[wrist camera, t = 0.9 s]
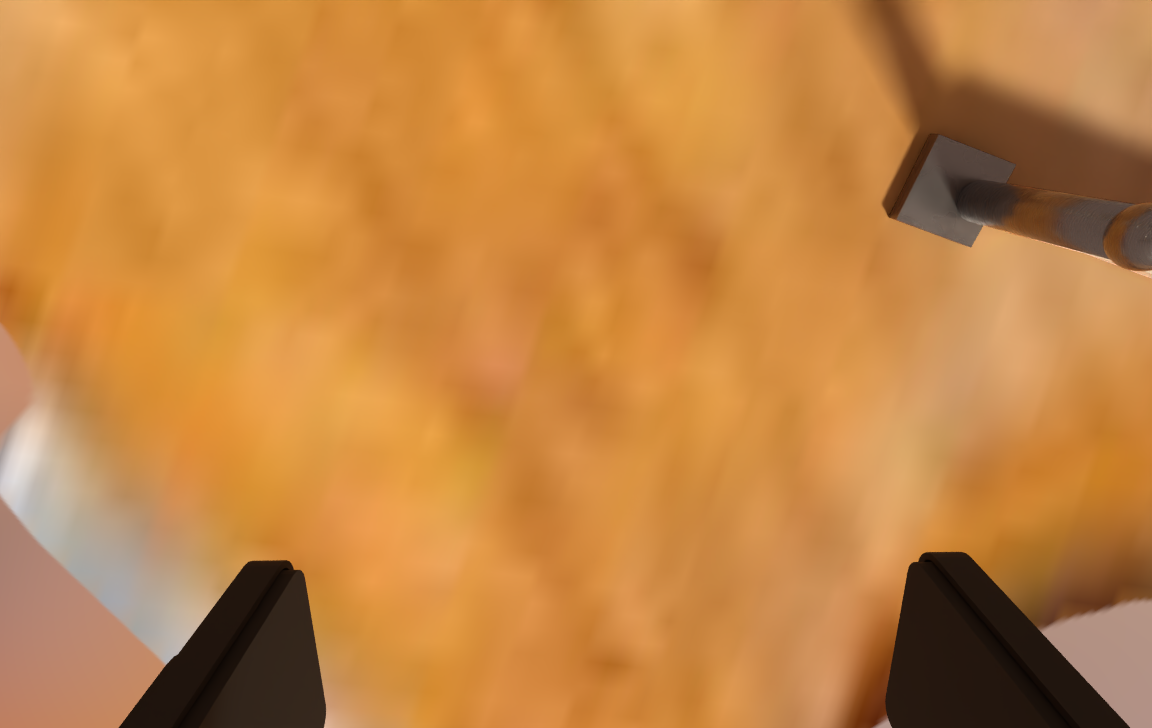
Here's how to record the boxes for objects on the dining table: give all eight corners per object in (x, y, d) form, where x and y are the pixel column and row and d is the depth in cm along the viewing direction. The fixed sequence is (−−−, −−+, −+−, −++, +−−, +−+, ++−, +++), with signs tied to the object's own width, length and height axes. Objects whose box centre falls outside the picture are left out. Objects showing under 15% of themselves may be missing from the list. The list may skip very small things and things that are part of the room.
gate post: (930, 133, 39) (1124, 145, 25) (1011, 165, 40) (1243, 193, 26) (888, 217, 41) (1050, 269, 27) (967, 246, 41) (1165, 312, 28)
